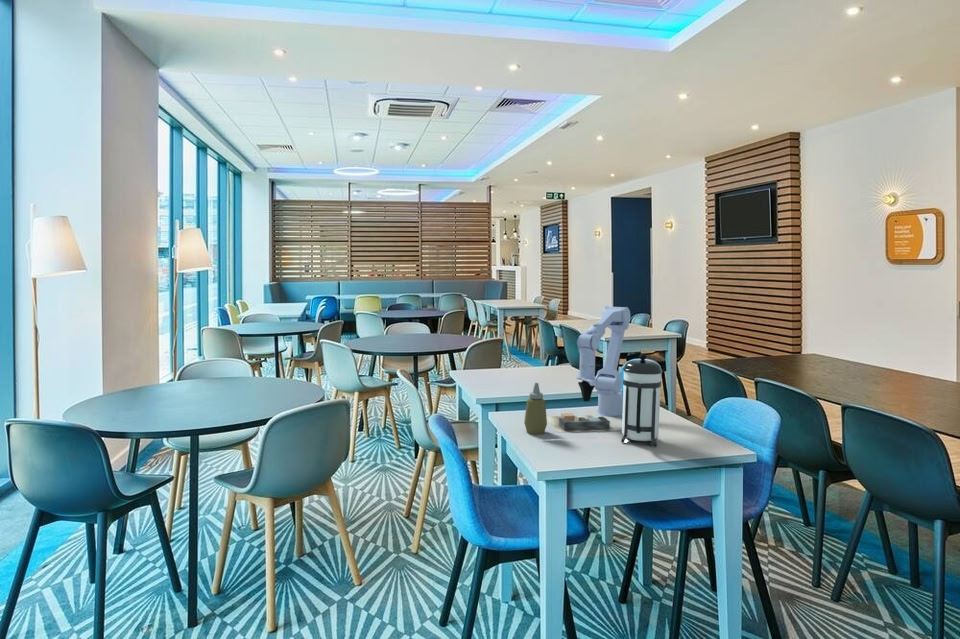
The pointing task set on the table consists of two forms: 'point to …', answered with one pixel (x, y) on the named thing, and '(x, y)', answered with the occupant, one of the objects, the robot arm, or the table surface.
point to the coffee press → (641, 400)
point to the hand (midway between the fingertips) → (586, 401)
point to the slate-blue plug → (593, 419)
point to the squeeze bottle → (535, 412)
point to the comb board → (580, 424)
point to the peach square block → (568, 416)
